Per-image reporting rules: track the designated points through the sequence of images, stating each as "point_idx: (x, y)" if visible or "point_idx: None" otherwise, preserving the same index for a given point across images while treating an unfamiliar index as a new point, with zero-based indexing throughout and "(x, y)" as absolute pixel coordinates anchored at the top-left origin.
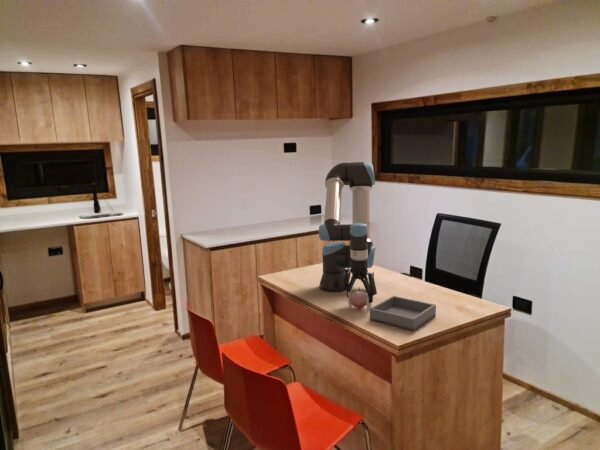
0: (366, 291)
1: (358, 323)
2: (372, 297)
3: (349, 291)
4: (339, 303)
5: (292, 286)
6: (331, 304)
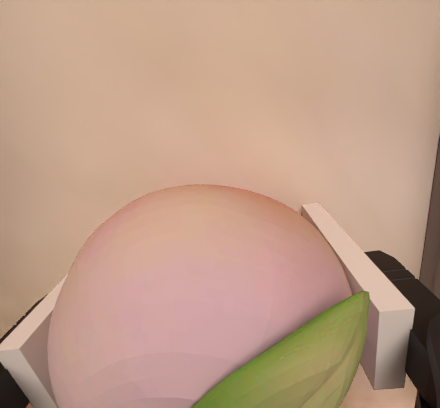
0: (339, 391)
1: (374, 398)
2: (436, 306)
3: (23, 394)
4: (17, 261)
5: None
6: (9, 308)
